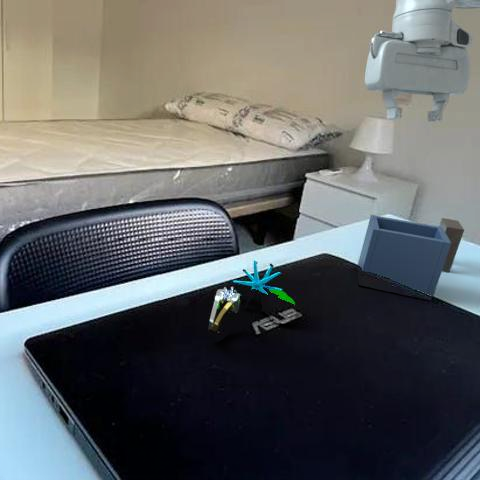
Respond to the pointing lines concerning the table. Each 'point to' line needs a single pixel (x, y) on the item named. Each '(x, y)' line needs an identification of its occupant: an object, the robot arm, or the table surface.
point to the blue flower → (260, 284)
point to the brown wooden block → (451, 240)
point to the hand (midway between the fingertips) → (414, 120)
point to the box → (405, 252)
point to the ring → (231, 301)
